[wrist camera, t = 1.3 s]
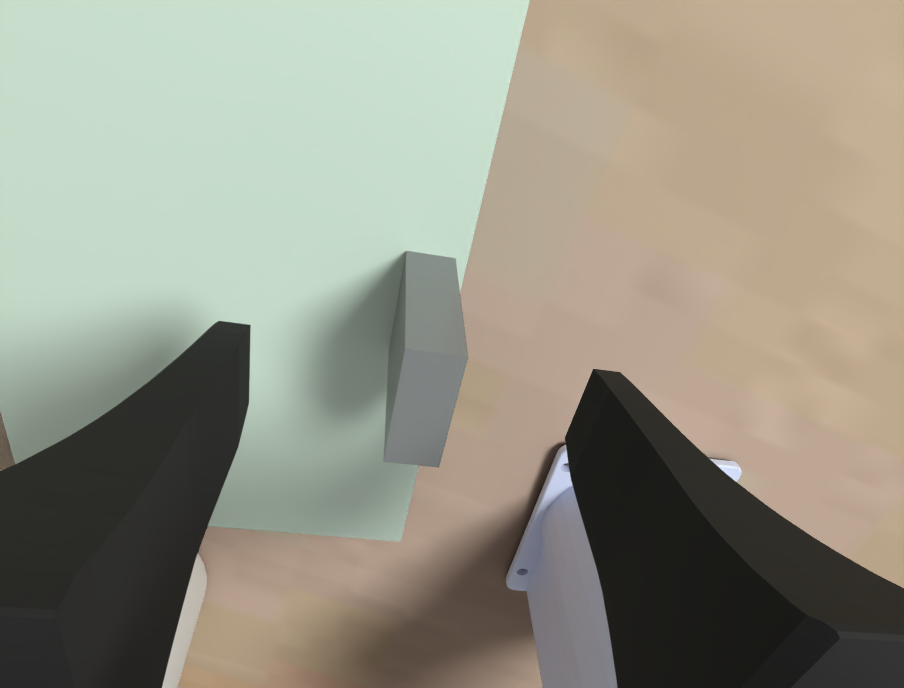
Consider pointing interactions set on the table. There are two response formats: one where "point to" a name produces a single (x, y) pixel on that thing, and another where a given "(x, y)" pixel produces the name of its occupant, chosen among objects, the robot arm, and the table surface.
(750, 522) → the robot arm
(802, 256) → the table surface
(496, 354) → the table surface
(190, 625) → the eye dropper bottle
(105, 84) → the tub lid
